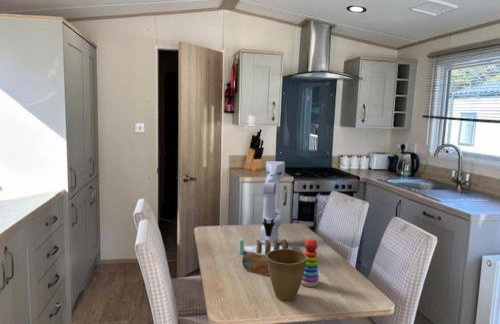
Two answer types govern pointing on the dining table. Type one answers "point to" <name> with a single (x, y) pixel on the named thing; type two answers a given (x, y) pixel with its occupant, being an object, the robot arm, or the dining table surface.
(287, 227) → the dining table surface
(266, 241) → the domino
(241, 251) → the domino
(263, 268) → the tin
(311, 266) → the stacking toy
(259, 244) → the domino
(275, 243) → the domino
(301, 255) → the plant pot
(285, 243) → the domino
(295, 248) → the stop block
